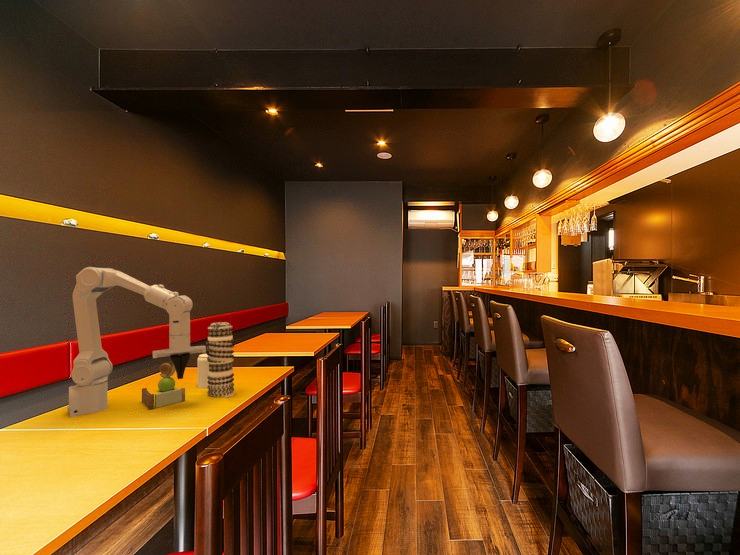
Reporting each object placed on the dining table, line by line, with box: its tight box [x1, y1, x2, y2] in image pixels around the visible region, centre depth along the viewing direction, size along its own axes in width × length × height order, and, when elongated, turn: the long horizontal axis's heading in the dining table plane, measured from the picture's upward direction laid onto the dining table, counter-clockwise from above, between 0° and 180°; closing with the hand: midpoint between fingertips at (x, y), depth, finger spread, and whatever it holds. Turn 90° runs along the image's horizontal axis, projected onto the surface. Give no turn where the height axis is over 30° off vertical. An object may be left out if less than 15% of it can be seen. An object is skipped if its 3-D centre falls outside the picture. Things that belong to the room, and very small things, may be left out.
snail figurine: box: [157, 362, 176, 393], centre depth 129 cm, size 5×6×12 cm
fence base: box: [141, 387, 155, 410], centre depth 113 cm, size 2×11×4 cm, turn 43°
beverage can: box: [196, 353, 209, 389], centre depth 135 cm, size 8×8×12 cm
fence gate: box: [154, 387, 186, 409], centre depth 114 cm, size 9×1×4 cm, turn 139°
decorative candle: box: [205, 321, 235, 399], centre depth 124 cm, size 9×9×25 cm
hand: (180, 378), depth 112 cm, fingers closed
